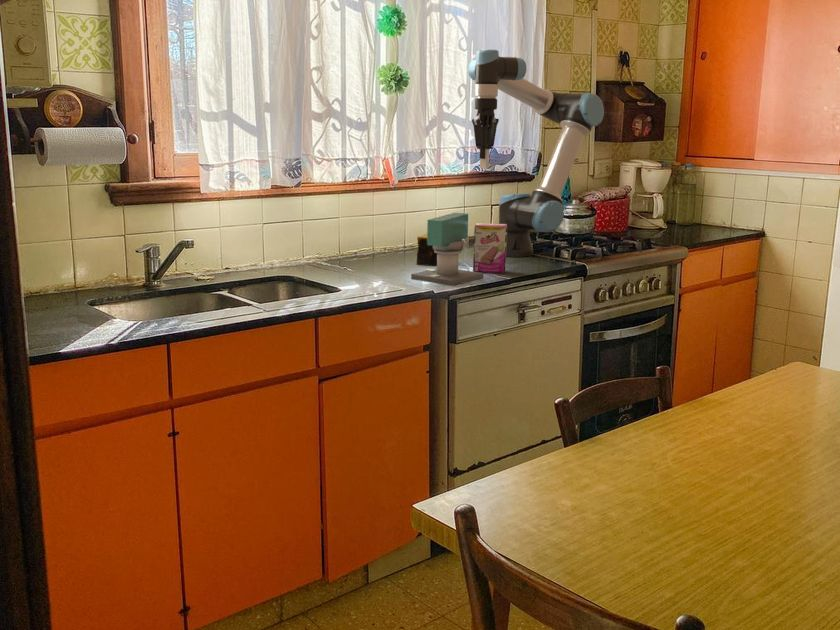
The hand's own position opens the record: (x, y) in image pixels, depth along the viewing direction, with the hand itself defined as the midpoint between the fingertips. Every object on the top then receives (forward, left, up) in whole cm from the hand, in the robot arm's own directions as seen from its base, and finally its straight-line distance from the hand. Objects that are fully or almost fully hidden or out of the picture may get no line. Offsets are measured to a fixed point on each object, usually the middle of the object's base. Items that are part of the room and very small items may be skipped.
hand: (484, 168), depth 290 cm
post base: (+24, +3, -34) cm, 42 cm away
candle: (+6, -17, -35) cm, 39 cm away
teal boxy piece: (+24, +3, -25) cm, 35 cm away
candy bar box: (+6, +7, -35) cm, 36 cm away
